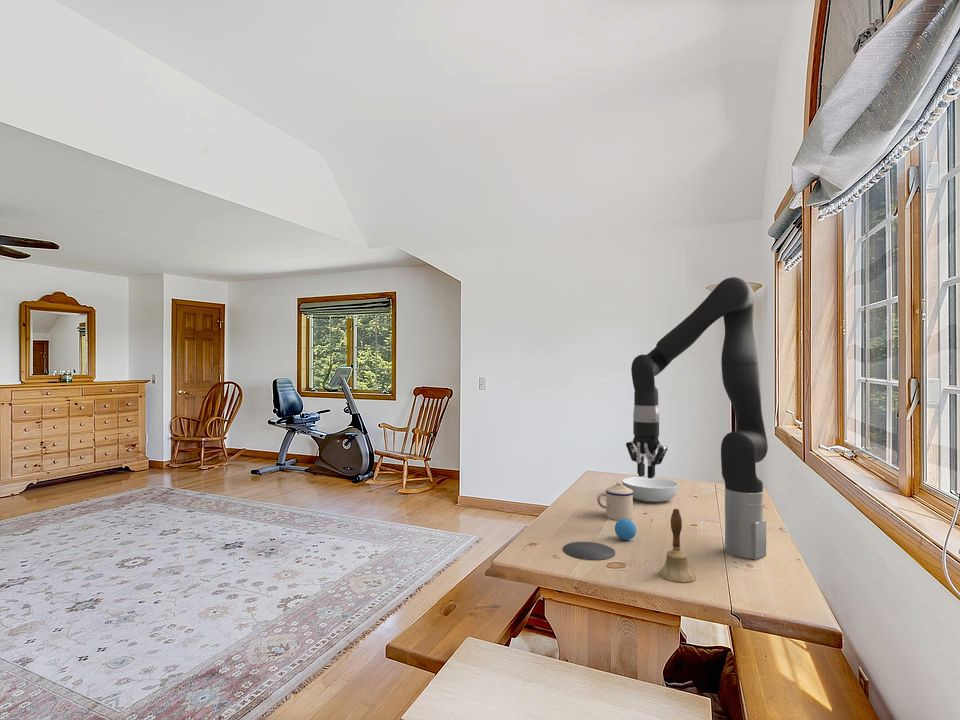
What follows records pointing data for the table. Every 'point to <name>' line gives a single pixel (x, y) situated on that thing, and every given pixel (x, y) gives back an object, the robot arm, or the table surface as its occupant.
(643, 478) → the serving bowl
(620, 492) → the teacup with lid
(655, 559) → the table surface
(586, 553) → the charcoal disc
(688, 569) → the hand bell
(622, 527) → the ball
